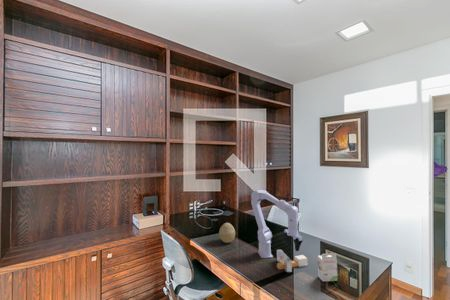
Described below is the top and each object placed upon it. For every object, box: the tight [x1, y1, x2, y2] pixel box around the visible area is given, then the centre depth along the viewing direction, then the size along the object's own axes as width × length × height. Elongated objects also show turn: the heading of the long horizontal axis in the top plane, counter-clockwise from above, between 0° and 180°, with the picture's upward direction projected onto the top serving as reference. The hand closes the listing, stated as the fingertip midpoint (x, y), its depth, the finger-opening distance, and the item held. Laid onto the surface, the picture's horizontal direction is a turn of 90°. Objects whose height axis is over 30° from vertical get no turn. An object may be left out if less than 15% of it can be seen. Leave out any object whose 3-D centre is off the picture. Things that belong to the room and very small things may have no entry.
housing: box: [276, 249, 293, 273], centre depth 129 cm, size 14×3×7 cm, turn 9°
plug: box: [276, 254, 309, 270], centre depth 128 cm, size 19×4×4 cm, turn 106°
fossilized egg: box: [218, 222, 236, 244], centre depth 165 cm, size 13×13×15 cm
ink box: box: [317, 252, 339, 282], centre depth 115 cm, size 9×5×15 cm, turn 92°
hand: (293, 248), depth 130 cm, fingers open, 7 cm apart
